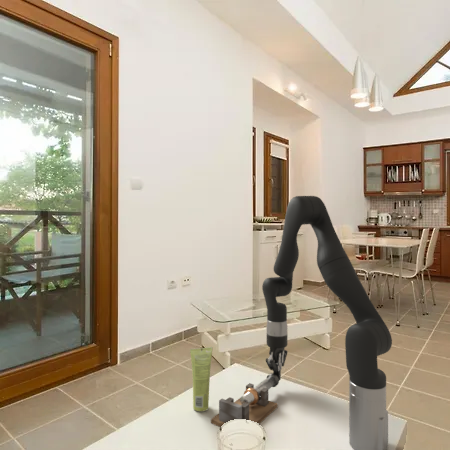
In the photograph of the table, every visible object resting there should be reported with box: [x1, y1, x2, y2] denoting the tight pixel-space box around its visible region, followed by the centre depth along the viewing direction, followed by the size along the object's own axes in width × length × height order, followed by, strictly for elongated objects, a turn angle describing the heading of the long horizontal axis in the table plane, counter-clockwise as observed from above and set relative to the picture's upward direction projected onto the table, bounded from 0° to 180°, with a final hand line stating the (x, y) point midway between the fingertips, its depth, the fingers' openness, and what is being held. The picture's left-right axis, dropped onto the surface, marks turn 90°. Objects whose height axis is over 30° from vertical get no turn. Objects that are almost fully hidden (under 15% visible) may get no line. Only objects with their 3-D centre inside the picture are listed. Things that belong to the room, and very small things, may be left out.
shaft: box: [239, 372, 280, 405], centre depth 118 cm, size 5×19×5 cm, turn 144°
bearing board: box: [210, 382, 278, 428], centre depth 111 cm, size 12×20×7 cm, turn 144°
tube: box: [189, 346, 214, 412], centre depth 115 cm, size 6×5×20 cm
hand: (277, 380), depth 127 cm, fingers closed
